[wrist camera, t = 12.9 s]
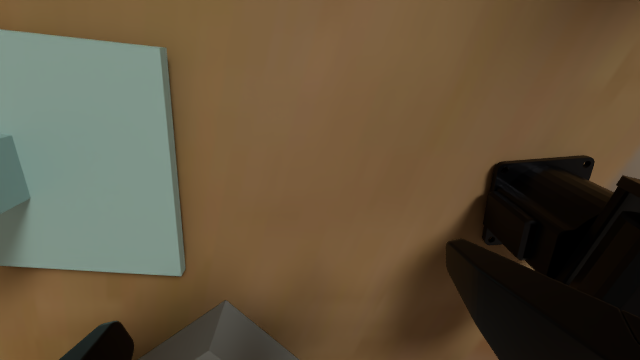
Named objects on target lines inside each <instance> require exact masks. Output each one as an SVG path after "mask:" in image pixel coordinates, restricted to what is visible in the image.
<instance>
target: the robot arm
mask: <svg viewBox="0 0 640 360" xmlns="http://www.w3.org/2000/svg"><path fill="white" fill-rule="evenodd" d="M584 162H585V164H584ZM583 164H584V165H583ZM593 166H594V159H593V158H591V157H589V156H585V155H582V156H569V157H556V158H543V159H530V160H516V161H503V162H499V163H498V164H496V166H495V167H494V171H493V177H492V183H491V189H490V193H489V194H488V198H487V204H486V210H485V216H484V222H483V224H484V229H483V235H482V239H483V241H484V242H485V243H486V244H487V245H500V244H503V245H504V246H505V247H506V248H507V249H508V250H509V251H510V252H511V253H512V254H513V255H514V256H515V257H516V258H518V259H519V260H525V261H526V262H527V263H528V264H529V265H530V266H531V267H532V268H533V269H534V270H535V271H534V270H532V269H530V268H527V267H525V266H523V265H521V264H518V263H516V262H514V261H512V260H509V259H507V258H505V257H503V256H500V255H498V254H496V253H494V252H491V251H489V250H487V249H485V248H482V247H480V246H478V245H476V244H473V243H471V242H469V241H467V240H464V239H456V240H452V241H448V242H447V243H446V267H447V270H448V273H449V275H450V277H451V279H452V281H453V282H454V284H455V286H456V288H457V290H458V292H459V294H460V296H461V298H462V300H463V301H464V303H465V305H466V307H467V309H468V311H469V313H470V315H471V317H472V318H473V320H474V322H475V324H476V325H477V327H478V329H479V330H480V332H481V333H482V335H483V336H484V338H485V339H486V341H487V342H488V344H489V345H490V347H491V348H492V350H493V351H494V353H495V354H496V356H497V357H498V359H499V360H640V179H636V178H632V177H628V176H624V175H623V176H622V177H621V178H620V180H619V181H618V183H617V184H616V185H617V186H618V187H617V189H616V190H615V192H612V191H610V190H608V189H606V188H604V187H601V186H599V185H597V184H595V183H593V182H591V181H589V179H590V176H591V173H592V169H593ZM504 167H505V169H504V171H502V172H501V169H502V168H504ZM490 237H492V238H491V239H489V238H490ZM133 351H134V342H133V339H132V338H131V336H130V335H129V333H128V332H127V331H126V329H125V328H124V326H123V325H122V324H121V322H119V321H112V322H108V323H104V324H101V325H99V326H98V327H97V328H96V329H94V330H93V331H92V332H91V333H90V334H89V335H87V336H86V337H85V338H84V339H83V340H82V341H80V342H79V343H78V344H77V345H76V346H75V347H73V348H72V349H71V350H70V351H69V352H67V353H66V354H65V355H64V356H63V357H62V358H60V359H59V360H132V356H133Z"/></svg>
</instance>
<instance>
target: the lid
mask: <svg viewBox="0 0 640 360" xmlns="http://www.w3.org/2000/svg"><path fill="white" fill-rule="evenodd" d="M0 266H16V267H33V268H50V269H67V270H83V271H100V272H117V273H134V274H151V275H168V276H182V274H183V272H184V271H185V257H184V246H183V234H182V223H181V211H180V200H179V188H178V177H177V165H176V154H175V142H174V131H173V119H172V107H171V96H170V84H169V73H168V61H167V50H166V48H164V47H155V46H146V45H137V44H128V43H119V42H110V41H101V40H92V39H83V38H74V37H65V36H56V35H47V34H38V33H29V32H20V31H11V30H2V29H0Z"/></svg>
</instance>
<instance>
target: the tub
mask: <svg viewBox="0 0 640 360" xmlns="http://www.w3.org/2000/svg"><path fill="white" fill-rule="evenodd" d="M138 360H299V359H298V358H296V357H295V356H294V355H293V354H291V353H290V352H289V351H288V350H286V349H285V348H284V347H283V346H282V345H280V344H279V343H278V342H277V341H275V340H274V339H273V338H272V337H271V336H269V335H268V334H267V333H266V332H264V331H263V330H262V329H261V328H259V327H258V326H257V325H256V324H255V323H253V322H252V321H251V320H250V319H248V318H247V317H246V316H245V315H244V314H242V313H241V312H240V311H239V310H237V309H236V308H235V307H234V306H233V305H231V304H230V303H229V302H228V301H226V300H225V301H224V302H222V303H221V304H219V305H218V306H216V307H215V308H213V309H212V310H210V311H209V312H207V313H206V314H204V315H203V316H201V317H200V318H199V319H197V320H196V321H194V322H193V323H191V324H190V325H188V326H187V327H185V328H184V329H182V330H181V331H179V332H178V333H176V334H175V335H173V336H172V337H170V338H169V339H167V340H166V341H164V342H163V343H162V344H160V345H159V346H157V347H156V348H154V349H153V350H151V351H150V352H148V353H147V354H145V355H144V356H142V357H141V358H139V359H138Z"/></svg>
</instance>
